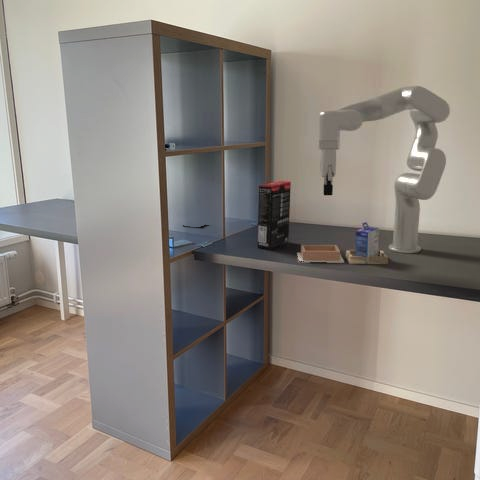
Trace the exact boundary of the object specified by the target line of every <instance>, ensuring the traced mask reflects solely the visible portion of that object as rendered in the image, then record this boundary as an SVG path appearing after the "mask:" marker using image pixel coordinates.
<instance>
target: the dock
mask: <svg viewBox="0 0 480 480" xmlns="http://www.w3.org/2000/svg"><path fill="white" fill-rule="evenodd" d="M296 256H298V257H297V261H298V260H299V261H302V262H301V263H310V262H327V263H329V264H332V263H333V264H334V263H336V264H345V261H344V259H343V257H342V255H341V251H340V248H339V247H338V245H337V244H301V245H300V252H296ZM299 261H298V262H299ZM303 261H304V262H303Z"/></svg>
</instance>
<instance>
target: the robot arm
mask: <svg viewBox="0 0 480 480" xmlns="http://www.w3.org/2000/svg"><path fill="white" fill-rule="evenodd" d="M407 110H409V115H410V117H411V118H410V119H411V120H412V123H413V125H414V127H415V136H414V138H413V141H412V144H411V148H410V150H409V153H408V155H407V158H406V166H407V167H408V169H410V170H412V171H415V172H420V174H419V173H414V172H404V173H400V175H398V176H397V177H396V179H395V181H394V186H393V187H394V196H395V197H394V198H395V207H394V208H395V210H394V211H395V212H394V221H393V222H394V223H393V237H392V238H393V239H392V243H390V244H389V245H388V250H390V251H392V252H396V253H400V254H401V253H402V254H415V253H416V254H417V253H419V252H421V249H422V247H420V246H419V245H418V238H419V237H418V236H419V225H420V224H419V223H420V212H421V206H420V205H421V204H420V201H427V200H429V199H431V198H433V196H434V195H435V193H436V192H437V190H438V187H439V185H440V182H441V179H442V177H443V174H444V172H445V168H446V165H447V159H446V158H447V156H446V154H445V152H444V151H443V150H441V149H440V148H437V147H436V144H437V141H438V139H439V132H438V128H437V125H436V124H438V123H442V122H445V121H446V120H447V119H448V118H449V116H450V114H451V113H450V112H451V108H450V105H449V104H448V101H446V100H445V99H443V98H442V97H440V96H438V95H437V94H436V93H435V92H433V91H431V90H429V89H427V88H425V87H423V86H421V85H412V86H403V87H399V88H397V89H394V90H391V91H389V92H385V93H383V94H381V95H377V96H376V97H372V98H368V99H366V100H362V101H360V102H356V103H353V104H350V105H347V106H344V107H341V108H339V109H336V110H323V111H321V112H320V113H319V116H318V117H319V118H318V123H319V124H318V150H319V151H320V165H319V174H320V176H321V177H322V178H323V183H324V184H323V196H333V189H334V187H333V181H334V180H333V178H335V177H336V169H337V151H338V150H340V140H341V138H340V137H341V132H342V131H345V132H353V131H356V130H358V129H360V128H361V127H362V125H363V123H365V122H375V121H380V120H384V119H386V118H389V117H391V116H394V115H397V114H399V113H401V112H405V111H407Z"/></svg>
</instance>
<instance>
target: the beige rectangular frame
mask: <svg viewBox="0 0 480 480" xmlns="http://www.w3.org/2000/svg"><path fill="white" fill-rule="evenodd" d="M355 255H356V249H345V258H346V260H347V261H348V264H350V265H353V264H354V265H355V264H356V265H358V264H359V265H361V264H362V265H365V264H366V263H365V257H362V256H355ZM368 262H369V263H367V265H388V264H389V256H388V255H387V254H386V253H385V251H383V249H381V250H379V249H378V256H370V257H369V260H368Z"/></svg>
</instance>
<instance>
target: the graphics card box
mask: <svg viewBox="0 0 480 480" xmlns="http://www.w3.org/2000/svg"><path fill="white" fill-rule="evenodd" d="M291 185H292V183H291V181H288V180H287V181H286V180H280V181H274V182H271V183H270V182H269V183H265V184H259V185H258V206H257V207H258V210H257V211H258V213H257V243H256V245H257V248H259V249H264V250H273V249H275V248H278V247H280V246H282V244H283V245H284V244H288V243H289V240H290V239H289V236H290V235H289V233H290V232H289V231H290V213H291V212H290V210H291V204H290V203H291V188H292V187H291ZM277 246H278V247H277Z"/></svg>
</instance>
